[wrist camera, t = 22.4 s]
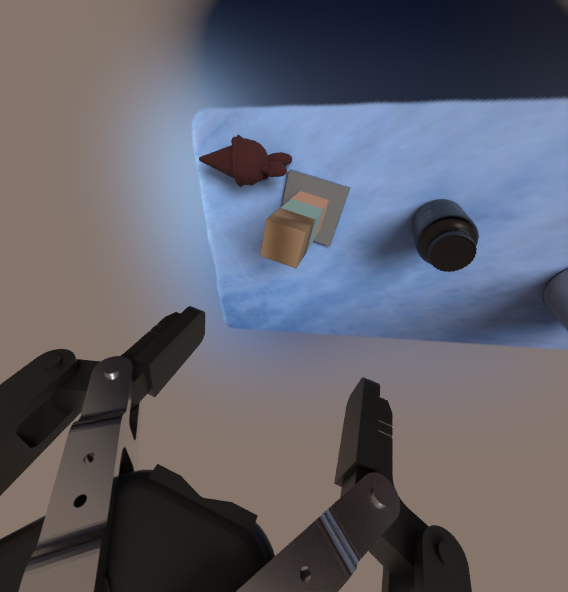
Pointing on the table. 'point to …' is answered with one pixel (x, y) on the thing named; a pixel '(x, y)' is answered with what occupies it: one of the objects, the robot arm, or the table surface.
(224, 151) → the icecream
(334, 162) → the table surface
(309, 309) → the table surface
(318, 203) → the base brick
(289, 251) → the walnut brick
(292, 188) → the plate
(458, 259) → the supplement bottle
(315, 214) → the teal brick
